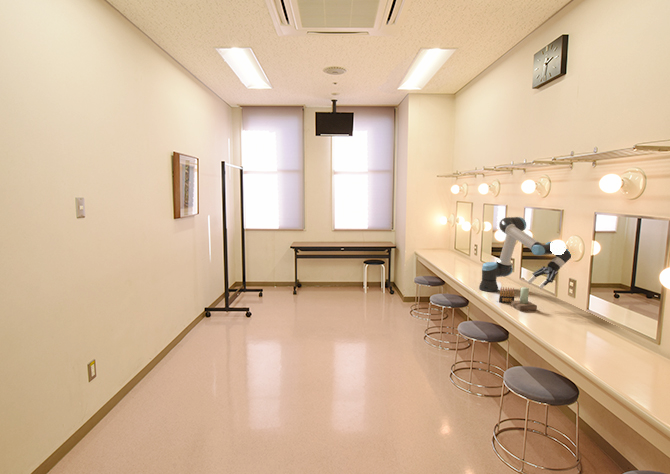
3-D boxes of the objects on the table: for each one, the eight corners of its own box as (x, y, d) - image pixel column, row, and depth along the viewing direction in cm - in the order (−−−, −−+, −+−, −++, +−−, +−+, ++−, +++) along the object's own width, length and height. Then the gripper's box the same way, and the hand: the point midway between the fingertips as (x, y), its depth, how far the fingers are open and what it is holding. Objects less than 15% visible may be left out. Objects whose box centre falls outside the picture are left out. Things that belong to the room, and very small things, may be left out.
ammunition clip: (513, 302, 273) (514, 287, 272) (514, 303, 271) (515, 287, 270) (498, 302, 275) (499, 286, 273) (499, 302, 273) (500, 287, 271)
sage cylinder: (518, 302, 261) (519, 287, 260) (525, 301, 262) (526, 287, 260) (522, 304, 256) (523, 289, 255) (529, 303, 257) (530, 289, 255)
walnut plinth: (510, 305, 265) (511, 300, 264) (526, 305, 266) (526, 300, 265) (520, 311, 253) (520, 305, 253) (536, 310, 254) (536, 305, 253)
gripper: (571, 271, 244) (548, 293, 245) (547, 264, 269) (527, 284, 270) (564, 264, 243) (541, 286, 244) (541, 257, 268) (520, 277, 269)
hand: (533, 285), depth 257 cm, fingers open, 13 cm apart
